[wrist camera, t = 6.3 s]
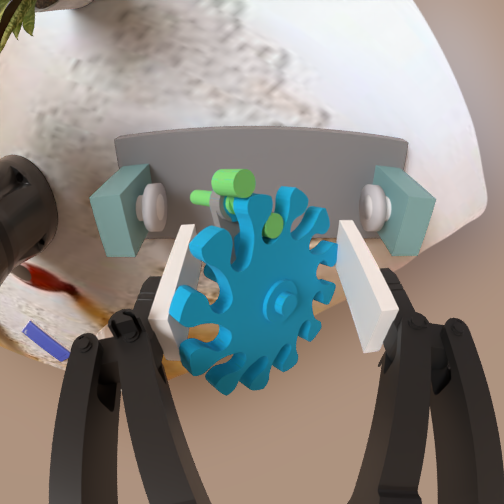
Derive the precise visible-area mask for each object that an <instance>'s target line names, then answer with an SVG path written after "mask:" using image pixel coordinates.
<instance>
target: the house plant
mask: <svg viewBox="0 0 504 504" xmlns="http://www.w3.org/2000/svg"><path fill="white" fill-rule="evenodd" d="M9 1H11V0H0V20H1V17H2V15H3V12H4V10H5V8H6V6H7V4H8V2H9ZM92 1H93V0H22V2H21V3H20V5H19V7H18V8H17V10H16V12H15V13H14V15H13V17H12V18H11V20H10V22H9V24H8V26H7V28H6V30H5V32H4V35H3V37H2V40H1V44H0V53H1V51H2V50H3V48H4V46H5V44H6V42H7V40H8V38H9V36H10V34H11V33H12V32H13V33H14V35H15V37H16V38H17V37H18V34H19V32H20V29H21V26H22V22H23V28H24V30H25V31H26V32H27V33H28V34H30V35H31V36H33V35H32V33H33V29H34V23H35V12H45V11H53V10H64V9H77V8H81V7H84V6H86V5H88V4H89V3H90V2H92ZM17 40H18V38H17Z"/></svg>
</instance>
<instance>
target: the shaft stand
mask: <svg viewBox="0 0 504 504" xmlns="http://www.w3.org/2000/svg"><path fill="white" fill-rule="evenodd" d="M114 141H115V148H116V154H117V160H118V166H119V170H118V171H117V172H116V173H115V174H114V175H113V176H111V177H110V178H109V179H108V180H107V181H106V182H105V183H104V184H103V185H102V186H101V187H100V188H99V189H98V190H97V191H96V192H95V193H94V194H93V195H92V196H91V197H89V199H90V203H91V206H92V210H93V214H94V217H95V221H96V224H97V227H98V231H99V234H100V237H101V240H102V243H103V247H104V250H105V253H106V256H107V257H136V255H137V253H138V251H139V249H140V247H141V245H142V243H143V241H144V239H161V238H176V237H177V234H178V232H179V229H180V227H181V225H189V224H195V228H196V234H198V233H199V232H200V231H202V230H203V229H205V228H206V227H208V226H211V225H212V226H215V224H214V221H213V217H212V213H211V210H210V207H208V206H202V205H196V204H193V203H192V202H191V200H190V195H191V193H192V192H193V191H194V190H206V191H212V190H213V189H212V184H211V181H212V177H213V175H214V173H215V172H216V171H218V170H220V169H248V170H250V171H251V172H252V173H253V175H254V176H255V181H256V186H255V190H254V192H253V193H256V194H266V195H270V196H271V197H272V201H273V208H272V212H273V213H274V210H275V198H276V194H277V191H278V190H279V188H280V187H281V186H286V187H296V188H298V189H299V190H301V191H302V192H303V193H304V194H305V195H306V196H307V198H308V199H309V201H308V206H307V208H308V207H310V206H315V207H322V208H326V211H327V213H328V216H329V221H330V227H329V229H328V231H327V232H326V233H325V234H314V235H313V237H312V238H337V234H338V227H339V220H353V222H354V224H355V225H356V227H357V229H358V231H359V232H360V234H361V236H362V238H381V239H382V241H383V242H384V244H385V245H386V247H387V249H388V250H389V252H390V254H391V255H392V256H418V253H419V251H420V248H421V245H422V242H423V239H424V237H425V234H426V231H427V228H428V225H429V221H430V218H431V215H432V212H433V208H434V205H435V202H436V199H435V198H434V197H433V196H432V195H431V194H430V193H429V192H428V191H426V190H425V189H424V188H423V187H422V186H421V185H420V184H418V183H417V182H416V181H415V180H414V179H413V178H411V177H410V176H409V175H408V174H407V173H405V172H404V171H403V170H404V164H405V159H406V154H407V148H408V142H407V141H405V140H403V139H400V138H394V137H388V136H382V135H375V134H368V133H360V132H351V131H342V130H331V129H319V128H304V127H281V126H226V127H203V128H187V129H175V130H165V131H155V132H147V133H139V134H131V135H125V136H120V137H118V138H116V139H115V140H114ZM306 210H307V209H306ZM304 214H305V212H304V213H303V214H302V215H301V216H299V217H297V218H296V219H295V220H294V221H293V223H292V225H291V232H292V231H293V230H295V229H296V227H297V226H298V225H299V224H300V222H301V220H302V218H303V216H304Z"/></svg>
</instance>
